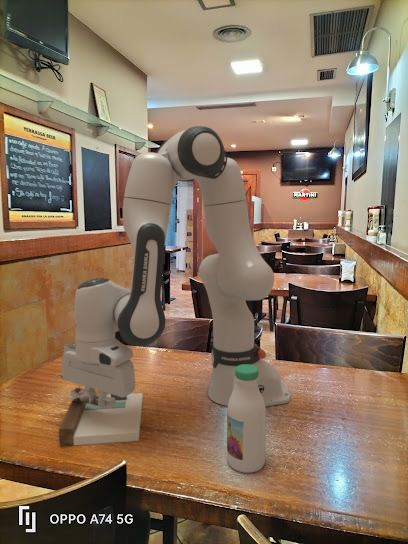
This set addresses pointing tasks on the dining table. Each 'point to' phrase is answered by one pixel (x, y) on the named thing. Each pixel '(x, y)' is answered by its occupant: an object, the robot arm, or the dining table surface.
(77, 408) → the jamb
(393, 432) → the dining table surface
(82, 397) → the swing bar
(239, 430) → the milk bottle
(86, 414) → the door leaf
